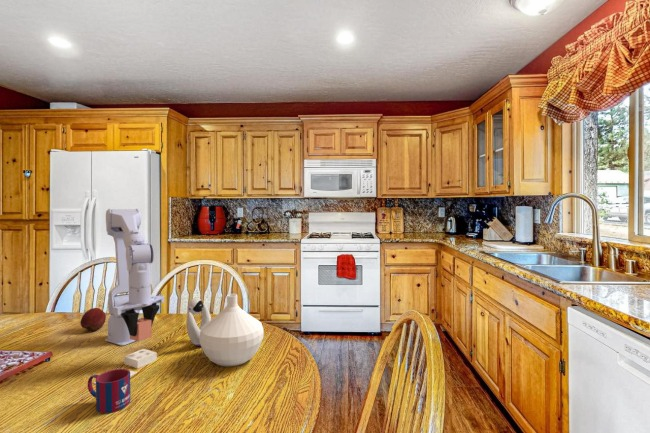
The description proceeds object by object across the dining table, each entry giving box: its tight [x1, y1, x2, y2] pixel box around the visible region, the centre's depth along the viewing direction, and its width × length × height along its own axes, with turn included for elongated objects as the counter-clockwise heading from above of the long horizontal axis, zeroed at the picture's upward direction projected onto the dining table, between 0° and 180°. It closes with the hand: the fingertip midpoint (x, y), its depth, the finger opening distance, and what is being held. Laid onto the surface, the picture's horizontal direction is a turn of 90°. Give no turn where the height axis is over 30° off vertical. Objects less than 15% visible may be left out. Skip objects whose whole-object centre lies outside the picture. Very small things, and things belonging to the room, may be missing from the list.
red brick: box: [130, 317, 153, 342], centre depth 100 cm, size 4×4×5 cm
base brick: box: [123, 348, 158, 369], centre depth 101 cm, size 6×6×2 cm
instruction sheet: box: [93, 370, 138, 385], centre depth 91 cm, size 6×8×1 cm
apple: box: [80, 307, 107, 332], centre depth 125 cm, size 7×8×8 cm
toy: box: [186, 297, 212, 347], centre depth 113 cm, size 11×7×15 cm, turn 168°
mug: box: [87, 368, 131, 414], centre depth 80 cm, size 7×10×7 cm
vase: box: [200, 293, 265, 367], centre depth 103 cm, size 18×18×19 cm
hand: (140, 332), depth 100 cm, fingers closed on red brick, 4 cm apart
